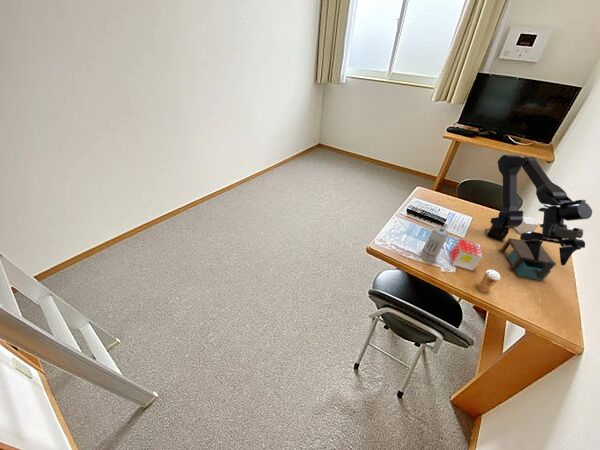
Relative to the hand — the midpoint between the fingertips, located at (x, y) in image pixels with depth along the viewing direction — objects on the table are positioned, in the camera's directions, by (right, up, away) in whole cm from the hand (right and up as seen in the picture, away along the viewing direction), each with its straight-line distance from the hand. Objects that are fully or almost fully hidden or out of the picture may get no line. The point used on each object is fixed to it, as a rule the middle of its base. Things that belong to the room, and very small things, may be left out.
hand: (549, 262), depth 101 cm
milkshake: (-24, -10, +2) cm, 26 cm away
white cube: (+17, +11, +34) cm, 40 cm away
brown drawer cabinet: (+1, -2, +15) cm, 15 cm away
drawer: (0, -5, +11) cm, 12 cm away
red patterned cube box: (-25, -1, +13) cm, 28 cm away
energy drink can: (-40, 0, +13) cm, 42 cm away
